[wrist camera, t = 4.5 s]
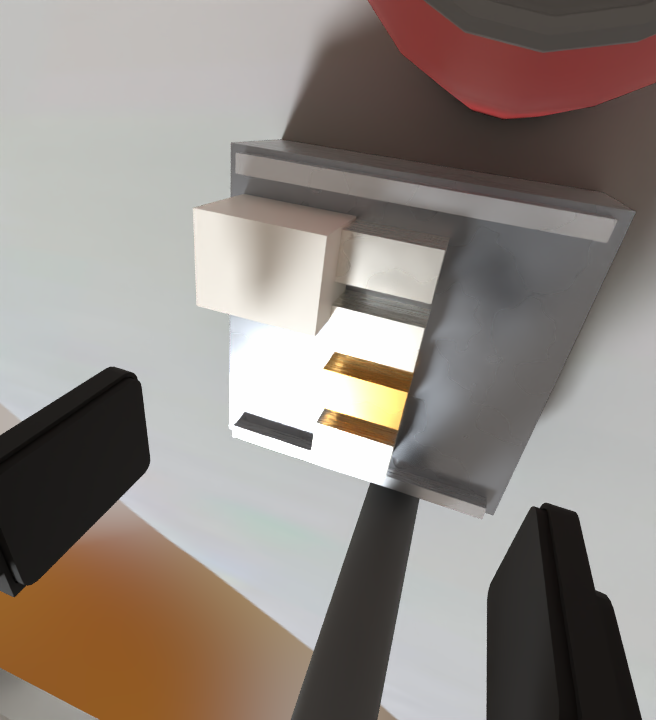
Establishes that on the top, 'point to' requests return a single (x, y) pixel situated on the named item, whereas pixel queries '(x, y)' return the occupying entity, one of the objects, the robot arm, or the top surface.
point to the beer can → (527, 50)
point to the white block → (268, 261)
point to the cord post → (361, 614)
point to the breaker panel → (467, 334)
